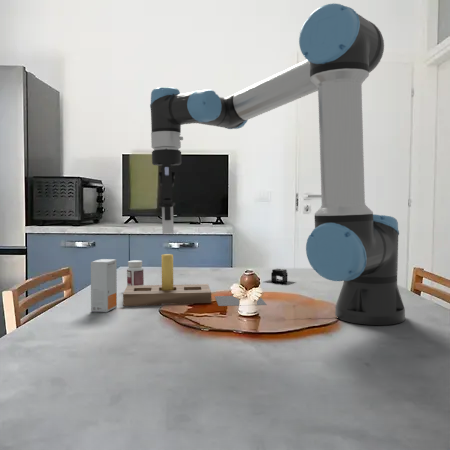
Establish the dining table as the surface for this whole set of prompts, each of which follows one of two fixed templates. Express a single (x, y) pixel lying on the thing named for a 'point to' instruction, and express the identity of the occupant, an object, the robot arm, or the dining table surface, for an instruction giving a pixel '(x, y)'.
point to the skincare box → (103, 285)
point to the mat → (233, 301)
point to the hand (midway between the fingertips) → (168, 232)
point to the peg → (167, 272)
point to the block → (166, 294)
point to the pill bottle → (135, 273)
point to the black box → (282, 274)
